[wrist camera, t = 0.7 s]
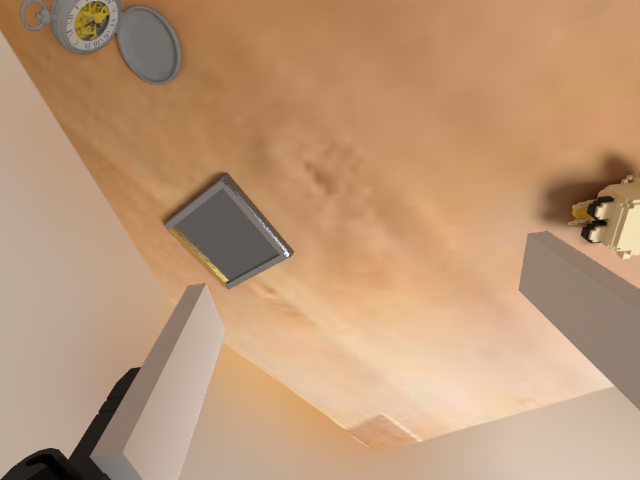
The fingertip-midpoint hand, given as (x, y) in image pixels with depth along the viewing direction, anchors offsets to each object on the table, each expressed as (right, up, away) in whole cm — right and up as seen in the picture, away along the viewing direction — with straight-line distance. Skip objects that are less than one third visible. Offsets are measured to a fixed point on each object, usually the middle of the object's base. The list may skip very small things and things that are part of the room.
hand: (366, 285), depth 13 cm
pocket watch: (-19, +22, +19) cm, 35 cm away
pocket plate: (-14, +3, +30) cm, 33 cm away
